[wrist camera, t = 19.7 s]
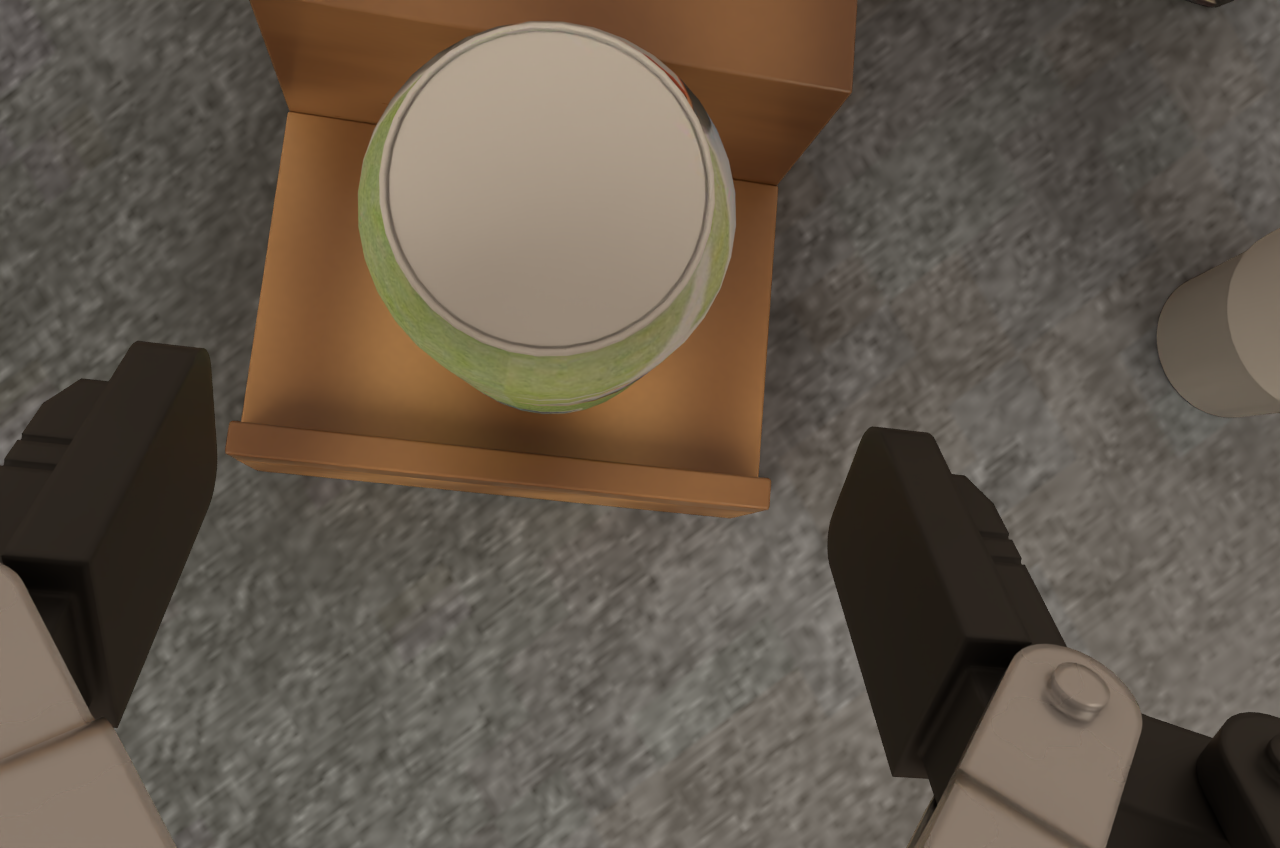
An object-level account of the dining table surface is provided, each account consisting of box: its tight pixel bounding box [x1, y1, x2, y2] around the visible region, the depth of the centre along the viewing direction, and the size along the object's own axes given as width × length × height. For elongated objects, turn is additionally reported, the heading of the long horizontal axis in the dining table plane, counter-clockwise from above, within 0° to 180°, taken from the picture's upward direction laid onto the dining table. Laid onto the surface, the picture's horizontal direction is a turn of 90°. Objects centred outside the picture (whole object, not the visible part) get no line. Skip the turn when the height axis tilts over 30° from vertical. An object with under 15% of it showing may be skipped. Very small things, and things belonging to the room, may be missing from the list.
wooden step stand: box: [225, 0, 857, 518], centre depth 26 cm, size 13×16×8 cm
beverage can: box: [358, 21, 736, 414], centre depth 21 cm, size 6×7×12 cm
